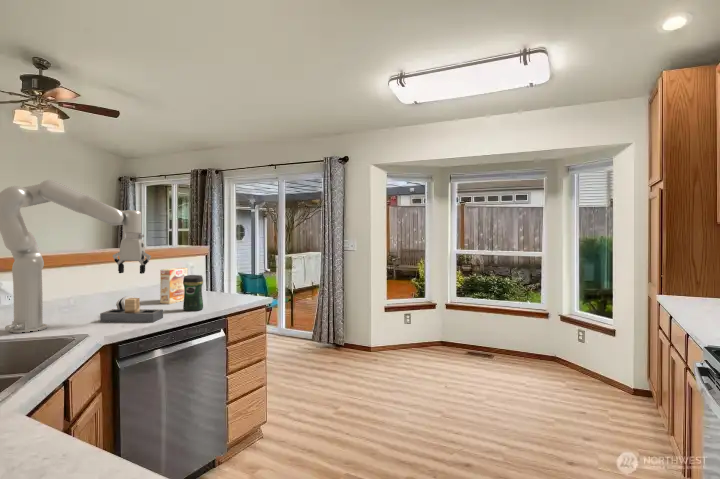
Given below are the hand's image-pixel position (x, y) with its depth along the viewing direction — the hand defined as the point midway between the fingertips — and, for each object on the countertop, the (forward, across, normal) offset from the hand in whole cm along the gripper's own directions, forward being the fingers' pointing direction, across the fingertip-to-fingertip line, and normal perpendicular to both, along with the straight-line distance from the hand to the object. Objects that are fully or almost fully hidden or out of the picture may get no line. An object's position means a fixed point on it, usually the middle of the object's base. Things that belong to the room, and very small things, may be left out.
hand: (131, 273), depth 196 cm
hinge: (+22, +8, -15) cm, 28 cm away
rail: (+22, 0, 0) cm, 22 cm away
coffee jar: (+22, -20, -25) cm, 39 cm away
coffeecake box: (+22, 0, -49) cm, 54 cm away
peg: (+22, 0, 0) cm, 22 cm away
